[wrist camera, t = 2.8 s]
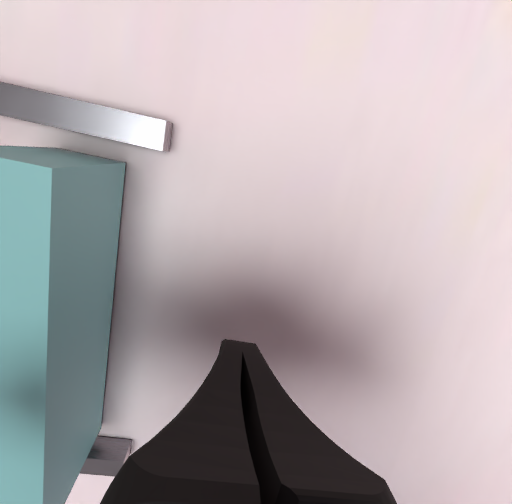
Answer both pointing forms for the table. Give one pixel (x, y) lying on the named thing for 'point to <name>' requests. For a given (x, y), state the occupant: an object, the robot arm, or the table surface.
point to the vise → (101, 125)
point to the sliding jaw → (54, 314)
